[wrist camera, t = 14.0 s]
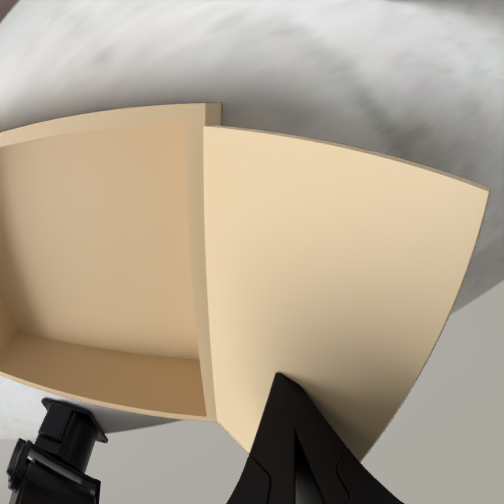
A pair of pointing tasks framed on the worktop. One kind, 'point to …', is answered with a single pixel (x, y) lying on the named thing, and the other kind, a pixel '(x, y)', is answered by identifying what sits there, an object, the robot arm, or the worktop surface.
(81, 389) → the carton
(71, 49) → the worktop surface
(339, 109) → the worktop surface
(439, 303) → the flap
